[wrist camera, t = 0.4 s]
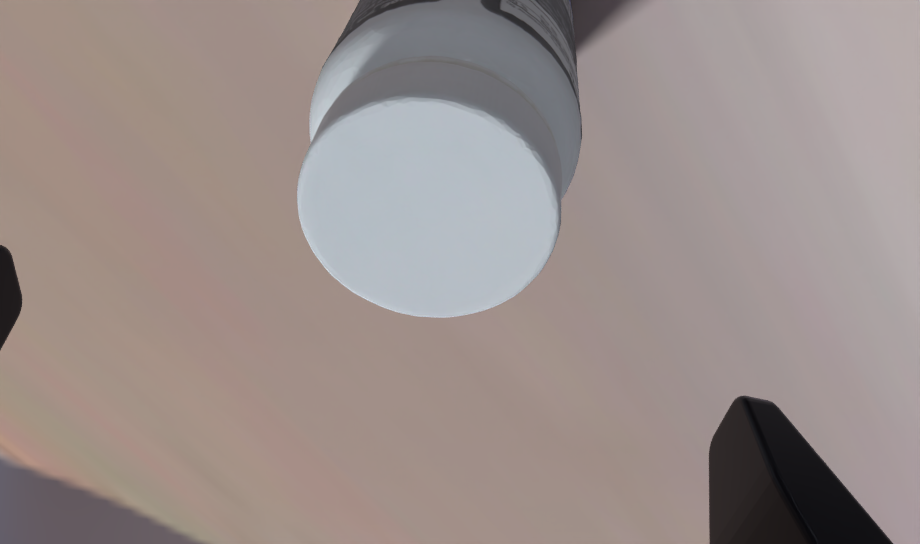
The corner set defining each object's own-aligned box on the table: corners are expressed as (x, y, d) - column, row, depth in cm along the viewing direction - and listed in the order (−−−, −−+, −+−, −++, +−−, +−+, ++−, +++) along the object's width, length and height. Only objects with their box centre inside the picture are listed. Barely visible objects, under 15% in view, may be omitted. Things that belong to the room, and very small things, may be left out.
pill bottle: (372, 102, 20) (280, 322, 13) (369, -99, 17) (249, 54, 10) (559, 120, 19) (562, 352, 13) (589, -80, 16) (613, 87, 10)
